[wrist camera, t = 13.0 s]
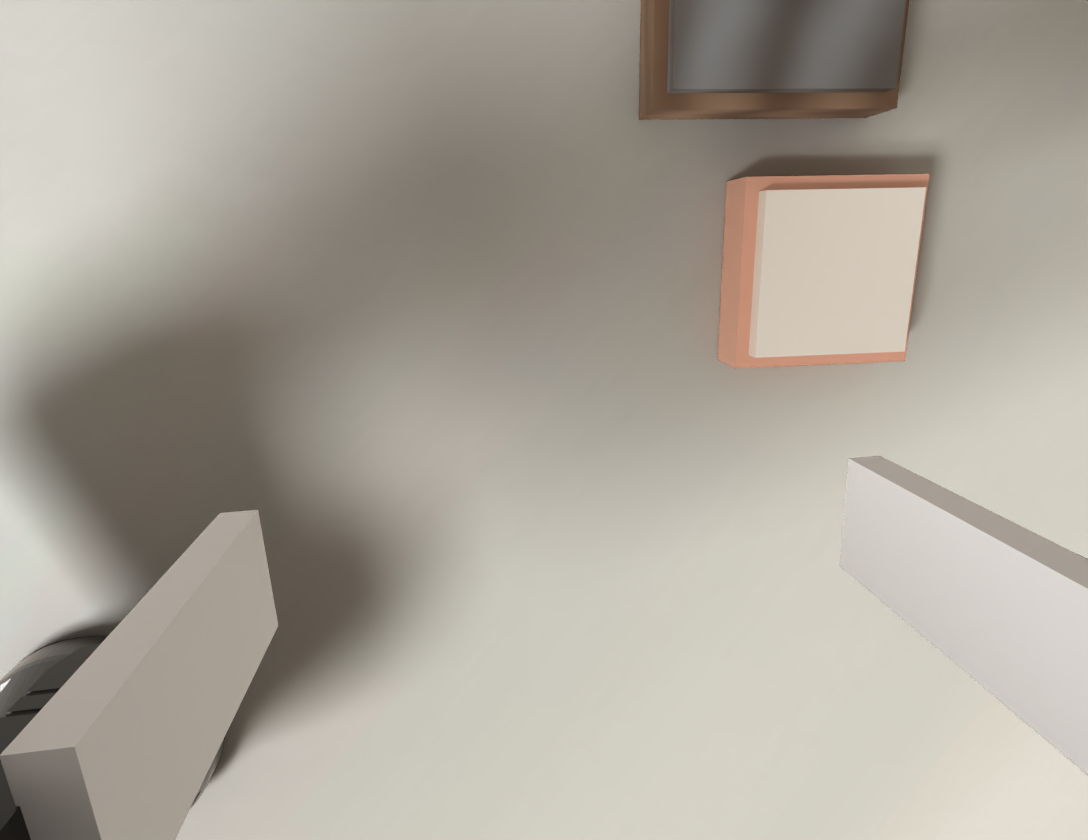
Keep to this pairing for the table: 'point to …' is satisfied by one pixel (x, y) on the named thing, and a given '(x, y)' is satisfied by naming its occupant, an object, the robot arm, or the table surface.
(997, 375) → the table surface
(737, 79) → the walnut plinth
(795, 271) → the terracotta plinth
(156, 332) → the table surface
